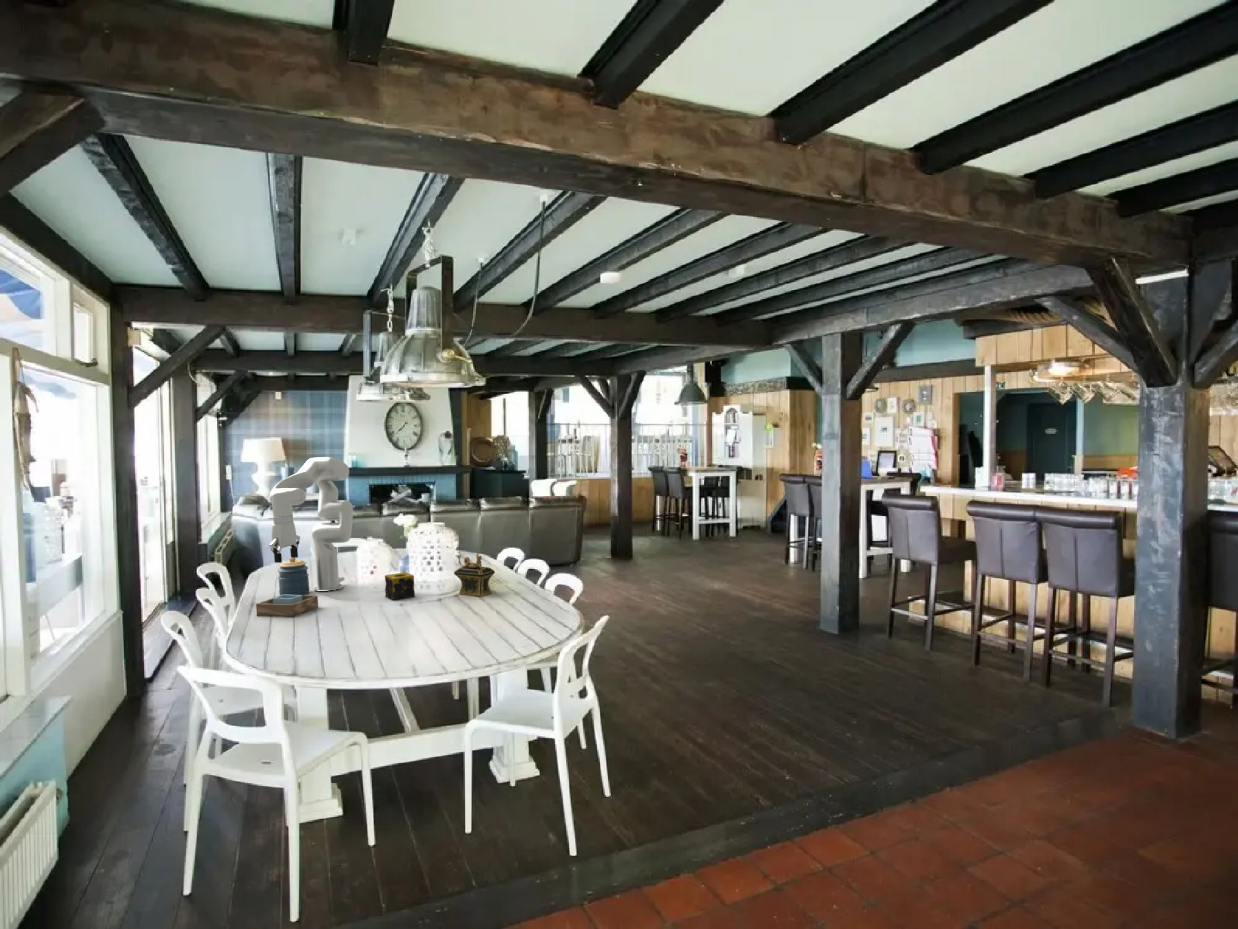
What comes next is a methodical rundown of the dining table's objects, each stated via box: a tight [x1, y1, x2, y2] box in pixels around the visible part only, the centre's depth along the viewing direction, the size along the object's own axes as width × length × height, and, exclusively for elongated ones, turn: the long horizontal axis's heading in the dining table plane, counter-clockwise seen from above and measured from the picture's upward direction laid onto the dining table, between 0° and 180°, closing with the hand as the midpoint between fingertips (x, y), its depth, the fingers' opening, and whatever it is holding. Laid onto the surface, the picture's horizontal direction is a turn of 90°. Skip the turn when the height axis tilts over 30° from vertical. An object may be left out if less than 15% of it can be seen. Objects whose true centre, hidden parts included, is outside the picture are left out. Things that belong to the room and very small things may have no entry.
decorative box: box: [453, 548, 495, 597], centre depth 322 cm, size 20×10×20 cm, turn 60°
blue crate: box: [272, 595, 302, 605], centre depth 301 cm, size 6×9×6 cm
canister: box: [277, 556, 310, 596], centre depth 333 cm, size 13×13×18 cm
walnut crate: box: [255, 594, 319, 618], centre depth 301 cm, size 16×18×5 cm
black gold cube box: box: [384, 572, 415, 602], centre depth 320 cm, size 10×10×10 cm
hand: (286, 559), depth 304 cm, fingers open, 9 cm apart
